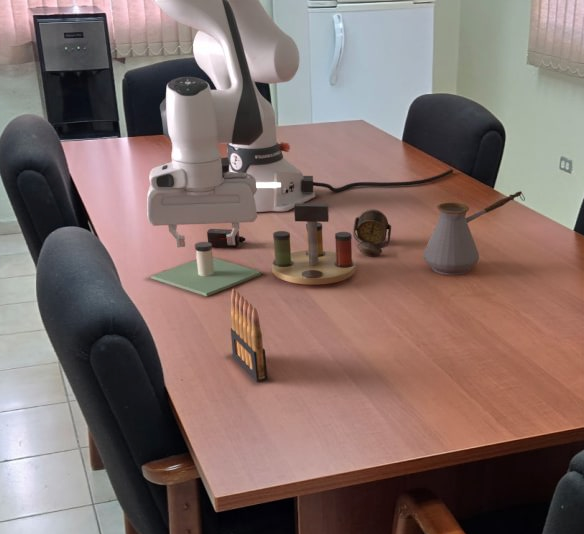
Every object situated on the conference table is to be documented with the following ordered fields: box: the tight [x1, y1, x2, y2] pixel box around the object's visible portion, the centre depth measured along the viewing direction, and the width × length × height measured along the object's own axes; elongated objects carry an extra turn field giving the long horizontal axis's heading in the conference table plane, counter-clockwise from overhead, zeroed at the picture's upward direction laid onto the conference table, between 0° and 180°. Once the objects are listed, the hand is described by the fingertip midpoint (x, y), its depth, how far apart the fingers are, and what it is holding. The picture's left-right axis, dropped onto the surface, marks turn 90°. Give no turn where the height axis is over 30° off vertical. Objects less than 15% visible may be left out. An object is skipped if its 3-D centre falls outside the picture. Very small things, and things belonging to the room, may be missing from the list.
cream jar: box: [194, 241, 214, 276], centre depth 184 cm, size 3×3×6 cm
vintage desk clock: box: [352, 209, 392, 257], centre depth 203 cm, size 7×13×10 cm
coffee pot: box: [422, 190, 526, 276], centre depth 193 cm, size 21×12×15 cm, turn 112°
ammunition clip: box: [230, 288, 269, 383], centre depth 150 cm, size 11×2×12 cm, turn 32°
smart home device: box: [162, 156, 230, 172], centre depth 252 cm, size 8×2×20 cm
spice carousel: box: [271, 203, 356, 285], centre depth 186 cm, size 16×16×13 cm
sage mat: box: [150, 256, 263, 297], centre depth 186 cm, size 15×15×1 cm
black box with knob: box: [206, 228, 246, 249], centre depth 202 cm, size 5×7×3 cm, turn 89°
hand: (206, 245), depth 183 cm, fingers open, 8 cm apart
